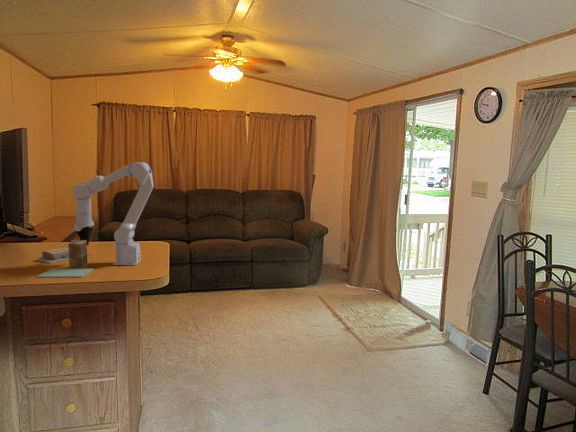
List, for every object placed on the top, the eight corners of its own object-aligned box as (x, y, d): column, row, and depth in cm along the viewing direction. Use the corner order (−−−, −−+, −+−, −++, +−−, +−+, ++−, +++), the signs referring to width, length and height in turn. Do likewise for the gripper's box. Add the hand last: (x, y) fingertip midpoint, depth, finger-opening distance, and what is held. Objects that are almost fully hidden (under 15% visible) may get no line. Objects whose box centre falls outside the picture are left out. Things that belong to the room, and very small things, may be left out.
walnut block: (87, 266, 167) (86, 240, 166) (82, 269, 162) (81, 242, 161) (75, 266, 167) (73, 240, 166) (69, 269, 162) (68, 242, 161)
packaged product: (75, 243, 191) (88, 246, 186) (75, 254, 192) (89, 256, 187) (36, 250, 175) (49, 253, 171) (36, 261, 176) (50, 264, 171)
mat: (93, 269, 162) (93, 268, 162) (81, 277, 151) (81, 276, 151) (52, 269, 161) (51, 268, 161) (37, 277, 150) (37, 276, 150)
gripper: (81, 211, 176) (82, 242, 178) (65, 215, 162) (67, 248, 163) (98, 211, 177) (99, 242, 178) (84, 215, 162) (85, 248, 164)
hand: (85, 245), depth 171 cm, fingers closed
